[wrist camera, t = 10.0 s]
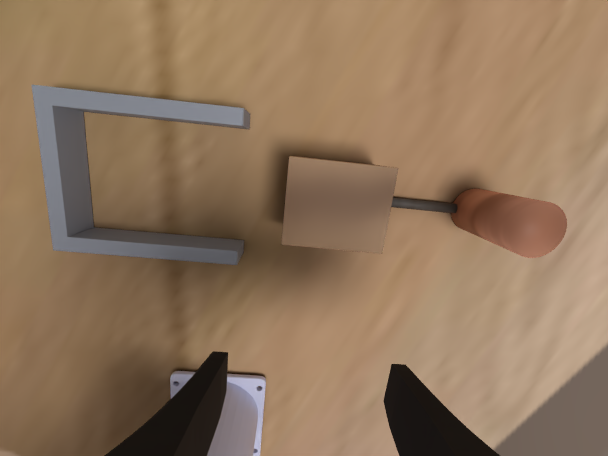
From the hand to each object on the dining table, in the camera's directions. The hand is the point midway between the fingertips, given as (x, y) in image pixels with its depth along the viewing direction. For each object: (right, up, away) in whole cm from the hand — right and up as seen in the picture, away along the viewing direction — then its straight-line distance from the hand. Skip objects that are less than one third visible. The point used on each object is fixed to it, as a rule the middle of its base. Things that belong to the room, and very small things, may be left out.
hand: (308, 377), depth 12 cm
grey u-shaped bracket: (-10, +10, +8) cm, 16 cm away
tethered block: (+6, +8, +9) cm, 14 cm away
